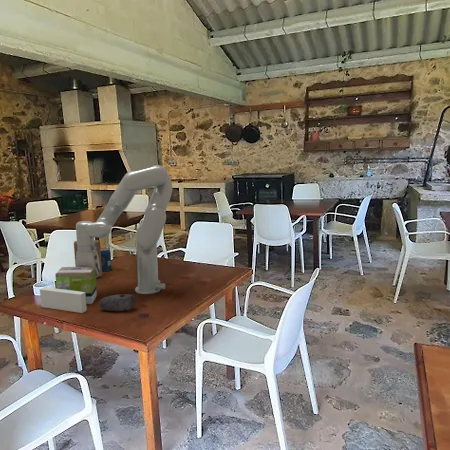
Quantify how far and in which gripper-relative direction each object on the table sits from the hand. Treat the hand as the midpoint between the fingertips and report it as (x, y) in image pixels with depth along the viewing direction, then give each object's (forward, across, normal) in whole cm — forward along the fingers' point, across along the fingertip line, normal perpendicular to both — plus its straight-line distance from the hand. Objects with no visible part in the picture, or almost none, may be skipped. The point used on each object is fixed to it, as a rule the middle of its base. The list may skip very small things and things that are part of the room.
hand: (88, 286), depth 185 cm
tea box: (+4, 0, +8) cm, 9 cm away
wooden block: (+4, +17, -22) cm, 28 cm away
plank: (+4, 0, +17) cm, 18 cm away
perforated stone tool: (+4, -23, +12) cm, 26 cm away
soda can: (+4, +17, -36) cm, 40 cm away
